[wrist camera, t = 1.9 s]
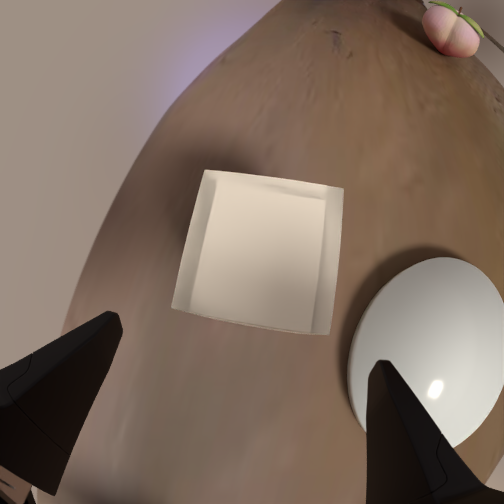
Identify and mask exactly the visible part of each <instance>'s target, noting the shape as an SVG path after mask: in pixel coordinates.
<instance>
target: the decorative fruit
mask: <svg viewBox="0 0 504 504" xmlns="http://www.w3.org/2000/svg"><path fill="white" fill-rule="evenodd" d="M429 3H435V4H438V5H435V6H432V7H430V8H429V9H428V10H427V11H426V12H425V14H424V16H423V20H422V23H423V28H424V31H425V33H426V35H427V36H428V38H429V40H430V41H431V42H432V44H433V45H434V46H435V47H436V48H437V50H438V51H439V52H441V53H442V54H444V55H448V56H453V57H459V58H465V57H469V56H472V55H473V54H474V53H475V52H476V51H477V49H478V46H479V34H480V35H481V36H482V37H483V38H484V35H483V33H482V30H481V29H480V27H479V26H478V25H477V23H476V22H475V21H473V20H472V19H470V18H469V17H467V16H465V15H464V14H462V13H461V10H462V7H460V9H459V11H457V10H456V9H454V8H453V7H452V6H450V5H448V4H446V3H444V2H440V1H430V2H429ZM478 33H479V34H478Z"/></svg>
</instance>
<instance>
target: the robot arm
mask: <svg viewBox="0 0 504 504" xmlns="http://www.w3.org/2000/svg"><path fill="white" fill-rule="evenodd" d="M122 334H123V328H122V325H121V321H120V318H119V315H118V314H117V313H115V312H112V311H106V312H104V313H102V314H101V315H99V316H97V317H95V318H93V319H92V320H90V321H88V322H86V323H84V324H83V325H81V326H79V327H77V328H75V329H74V330H72V331H70V332H68V333H67V334H65V335H63V336H61V337H59V338H58V339H56V340H54V341H52V342H51V343H49V344H47V345H45V346H44V347H42V348H40V349H38V350H37V351H35V352H33V354H32V353H31V354H30V355H28V356H26V357H24V358H23V359H21V360H19V361H17V362H15V363H13V364H11V365H9V366H7V367H5V368H3V369H1V370H0V504H36V503H35V500H34V498H33V494H32V491H31V487H32V485H33V486H35V487H37V488H39V489H41V490H42V491H44V492H46V493H48V494H50V495H52V496H55V494H56V492H57V489H58V486H59V484H60V481H61V478H62V476H63V473H64V470H65V468H66V465H67V463H68V460H69V458H70V455H71V452H72V450H73V447H74V445H75V443H76V440H77V438H78V436H79V433H80V431H81V429H82V426H83V424H84V422H85V420H86V417H87V415H88V413H89V411H90V409H91V406H92V404H93V402H94V400H95V398H96V396H97V394H98V392H99V389H100V387H101V385H102V383H103V381H104V379H105V377H106V375H107V373H108V371H109V369H110V366H111V364H112V361H113V358H114V356H115V353H116V350H117V348H118V345H119V342H120V340H121V337H122ZM441 433H442V432H441V430H440V429H439V427H438V426H437V425H436V423H435V422H434V420H433V419H432V417H431V416H430V415H429V413H428V412H427V410H426V409H425V408H424V406H423V405H422V403H421V402H420V401H419V399H418V398H417V396H416V395H415V394H414V392H413V391H412V390H411V388H410V387H409V385H408V384H407V383H406V381H405V380H404V379H403V377H402V376H401V375H400V373H399V372H398V371H397V369H396V368H395V367H394V365H393V364H392V363H391V361H389V360H382V359H380V360H378V361H377V362H376V363H375V365H374V367H373V368H372V370H371V372H370V373H369V376H368V388H367V407H366V438H367V488H366V504H504V492H502V491H498V490H495V489H492V488H489V487H487V486H486V485H484V484H483V483H482V482H480V480H479V479H478V478H477V477H476V476H475V475H474V473H473V472H472V471H471V470H470V469H469V467H468V466H467V465H466V464H465V463H464V461H463V460H462V459H461V458H460V457H459V455H458V454H457V453H456V452H455V450H454V449H453V447H452V446H451V445H450V443H449V442H448V440H447V439H446V437H445V436H444V435H443V434H441Z"/></svg>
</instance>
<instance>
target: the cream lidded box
mask: <svg viewBox="0 0 504 504" xmlns="http://www.w3.org/2000/svg"><path fill="white" fill-rule="evenodd" d="M343 192H344V189H343V188H337V187H332V186H326V185H320V184H314V183H308V182H302V181H295V180H289V179H282V178H274V177H267V176H259V175H251V174H243V173H234V172H224V171H214V170H205V171H204V174H203V178H202V181H201V185H200V188H199V192H198V196H197V199H196V203H195V207H194V211H193V215H192V219H191V222H190V226H189V230H188V234H187V239H186V243H185V247H184V251H183V255H182V260H181V264H180V269H179V273H178V278H177V282H176V287H175V292H174V296H173V301H172V306H171V308H173V309H176V310H180V311H184V312H188V313H192V314H196V315H200V316H204V317H208V318H212V319H216V320H221V321H226V322H231V323H237V324H243V325H248V326H254V327H260V328H266V329H272V330H279V331H286V332H292V333H300V334H315V335H329V334H330V327H331V320H332V313H333V306H334V298H335V290H336V281H337V272H338V262H339V252H340V240H341V227H342V212H343Z"/></svg>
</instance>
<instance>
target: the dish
mask: <svg viewBox="0 0 504 504" xmlns="http://www.w3.org/2000/svg"><path fill="white" fill-rule="evenodd" d="M380 359H382V360H389V361H391V363H392V364H393V365H394V367H395V368H396V369H397V371H398V372H399V373H400V375H401V376H402V377H403V379H404V380H405V381H406V383H407V384H408V385H409V387H410V388H411V390H412V391H413V392H414V394H415V395H416V396H417V398H418V399H419V401H420V402H421V403H422V405H423V406H424V408H425V409H426V410H427V412H428V413H429V415H430V416H431V417H432V419H433V420H434V422H435V423H436V425H437V426H438V427H439V429H440V430H441V432H442V433H441V434H443V435H444V436H445V437H446V439H447V440H448V442H449V443H450V445H451V446H452V447H455V446H457V445H458V444H460V443H461V442H463V441H464V440H465V439H466V438H467V437H469V436H470V435H471V434H472V433H473V432H474V431H475V430H476V429H477V428H478V427H479V426H480V425H481V423H482V422H483V421H484V420H485V418H486V417H487V416H488V414H489V413H490V411H491V409H492V408H493V406H494V404H495V402H496V401H497V399H498V397H499V394H500V392H501V389H502V387H503V384H504V303H503V301H502V299H501V296H500V294H499V293H498V291H497V289H496V287H495V286H494V285H493V283H492V282H491V281H490V279H489V278H488V277H487V276H486V275H485V274H484V273H483V272H482V271H480V270H479V269H478V268H476V267H475V266H473V265H471V264H469V263H468V262H465V261H462V260H459V259H455V258H449V257H438V258H433V259H428V260H425V261H422V262H420V263H417V264H415V265H413V266H411V267H409V268H408V269H406V270H404V271H402V272H400V273H398V274H397V275H396V276H394V277H393V278H392V279H390V280H389V281H388V282H387V283H386V284H385V285H384V286H383V287H382V288H381V289H380V290H379V291H378V292H377V294H376V295H375V296H374V297H373V299H372V300H371V301H370V303H369V305H368V306H367V308H366V309H365V311H364V313H363V315H362V317H361V319H360V321H359V323H358V325H357V328H356V331H355V333H354V336H353V339H352V343H351V347H350V351H349V357H348V364H347V387H348V395H349V399H350V404H351V407H352V410H353V412H354V415H355V418H356V419H357V421H358V423H359V424H360V426H361V428H362V429H363V430H364V431H365V433H366V407H367V388H368V376H369V373H370V372H371V370H372V368H373V367H374V365H375V363H376V362H377V361H378V360H380Z"/></svg>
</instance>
